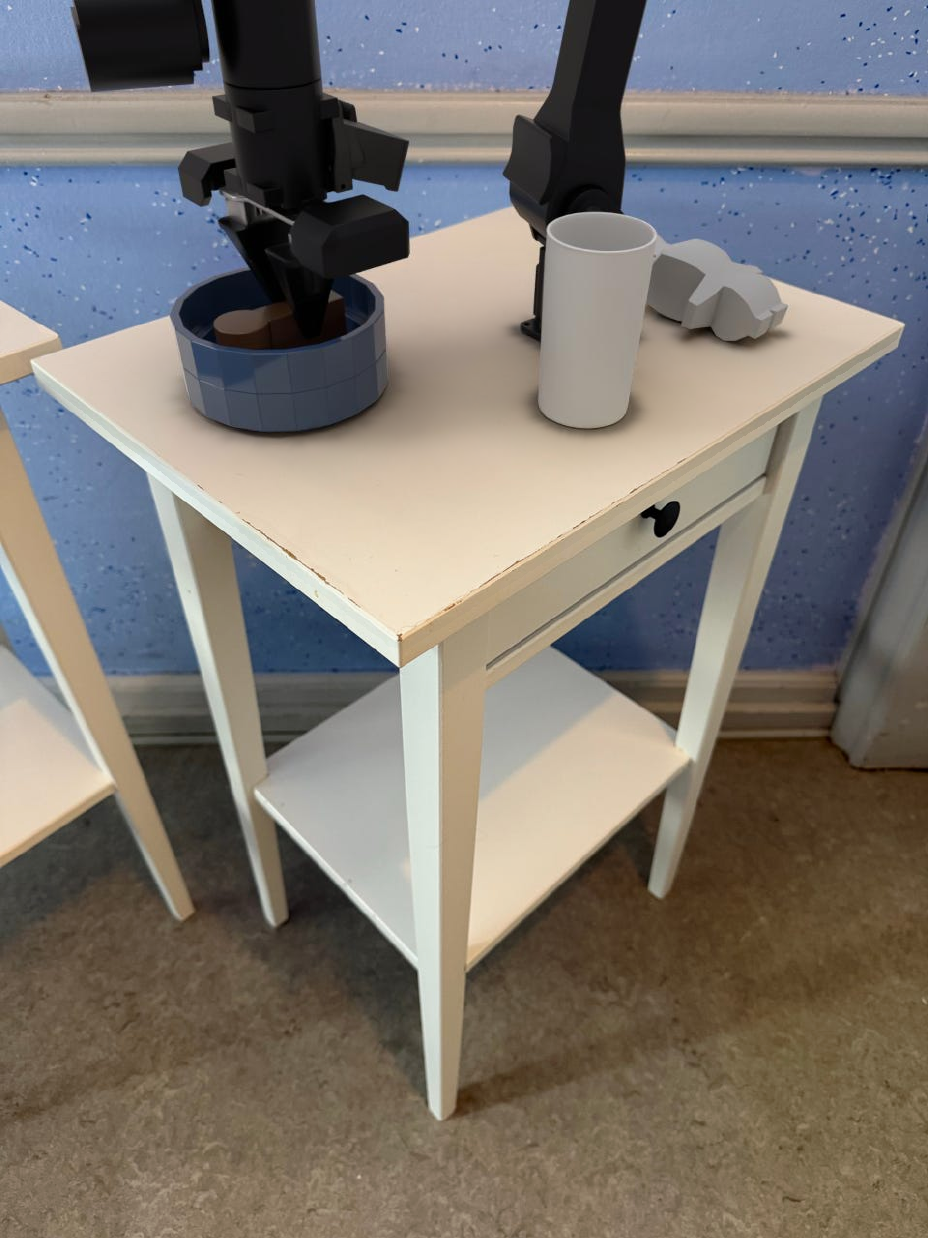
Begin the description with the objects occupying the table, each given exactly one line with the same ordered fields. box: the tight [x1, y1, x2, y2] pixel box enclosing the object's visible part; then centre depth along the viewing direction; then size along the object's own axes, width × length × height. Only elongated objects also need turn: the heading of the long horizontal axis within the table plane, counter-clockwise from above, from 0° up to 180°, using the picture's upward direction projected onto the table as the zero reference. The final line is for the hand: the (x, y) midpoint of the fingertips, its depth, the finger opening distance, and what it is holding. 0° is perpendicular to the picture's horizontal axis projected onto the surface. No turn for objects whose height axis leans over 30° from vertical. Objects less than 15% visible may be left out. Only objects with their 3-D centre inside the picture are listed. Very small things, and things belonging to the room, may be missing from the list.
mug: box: [537, 212, 658, 429], centre depth 61 cm, size 10×7×12 cm, turn 142°
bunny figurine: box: [646, 233, 789, 342], centre depth 73 cm, size 10×5×15 cm
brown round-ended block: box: [213, 290, 347, 350], centre depth 63 cm, size 4×9×3 cm, turn 130°
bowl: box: [169, 266, 389, 433], centre depth 63 cm, size 14×14×6 cm
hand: (302, 330), depth 64 cm, fingers closed on brown round-ended block, 2 cm apart
